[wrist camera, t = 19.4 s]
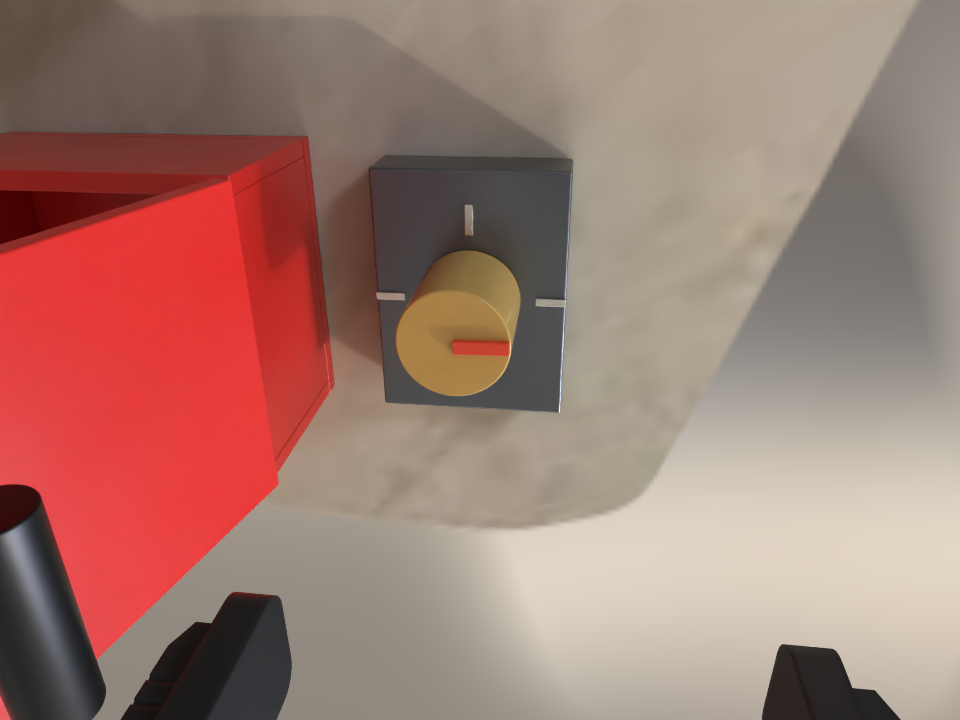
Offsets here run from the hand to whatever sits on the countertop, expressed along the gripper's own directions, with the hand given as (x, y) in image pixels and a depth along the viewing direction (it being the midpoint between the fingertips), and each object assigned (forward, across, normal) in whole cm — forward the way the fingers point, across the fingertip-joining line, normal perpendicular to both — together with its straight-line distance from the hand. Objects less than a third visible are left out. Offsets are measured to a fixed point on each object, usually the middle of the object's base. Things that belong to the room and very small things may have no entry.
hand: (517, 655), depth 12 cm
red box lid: (+9, +14, +3) cm, 17 cm away
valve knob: (+23, +4, +3) cm, 24 cm away
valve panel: (+26, +4, +3) cm, 27 cm away
